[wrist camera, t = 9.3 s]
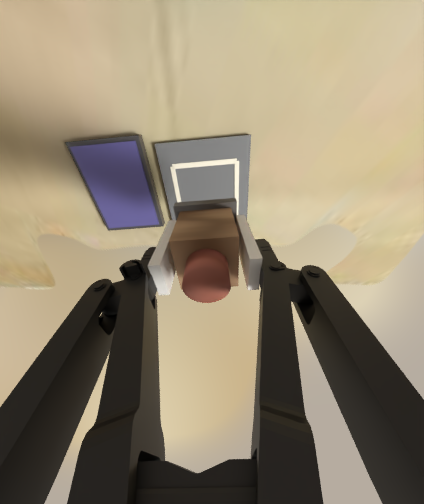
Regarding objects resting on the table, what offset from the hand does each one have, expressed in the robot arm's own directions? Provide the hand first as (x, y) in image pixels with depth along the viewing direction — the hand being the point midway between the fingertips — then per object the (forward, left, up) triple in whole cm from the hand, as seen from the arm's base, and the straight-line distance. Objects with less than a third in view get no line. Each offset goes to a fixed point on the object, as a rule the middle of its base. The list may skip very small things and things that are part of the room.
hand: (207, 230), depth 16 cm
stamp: (0, 0, -1) cm, 1 cm away
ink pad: (-12, +2, -11) cm, 17 cm away
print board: (0, 0, -11) cm, 11 cm away
